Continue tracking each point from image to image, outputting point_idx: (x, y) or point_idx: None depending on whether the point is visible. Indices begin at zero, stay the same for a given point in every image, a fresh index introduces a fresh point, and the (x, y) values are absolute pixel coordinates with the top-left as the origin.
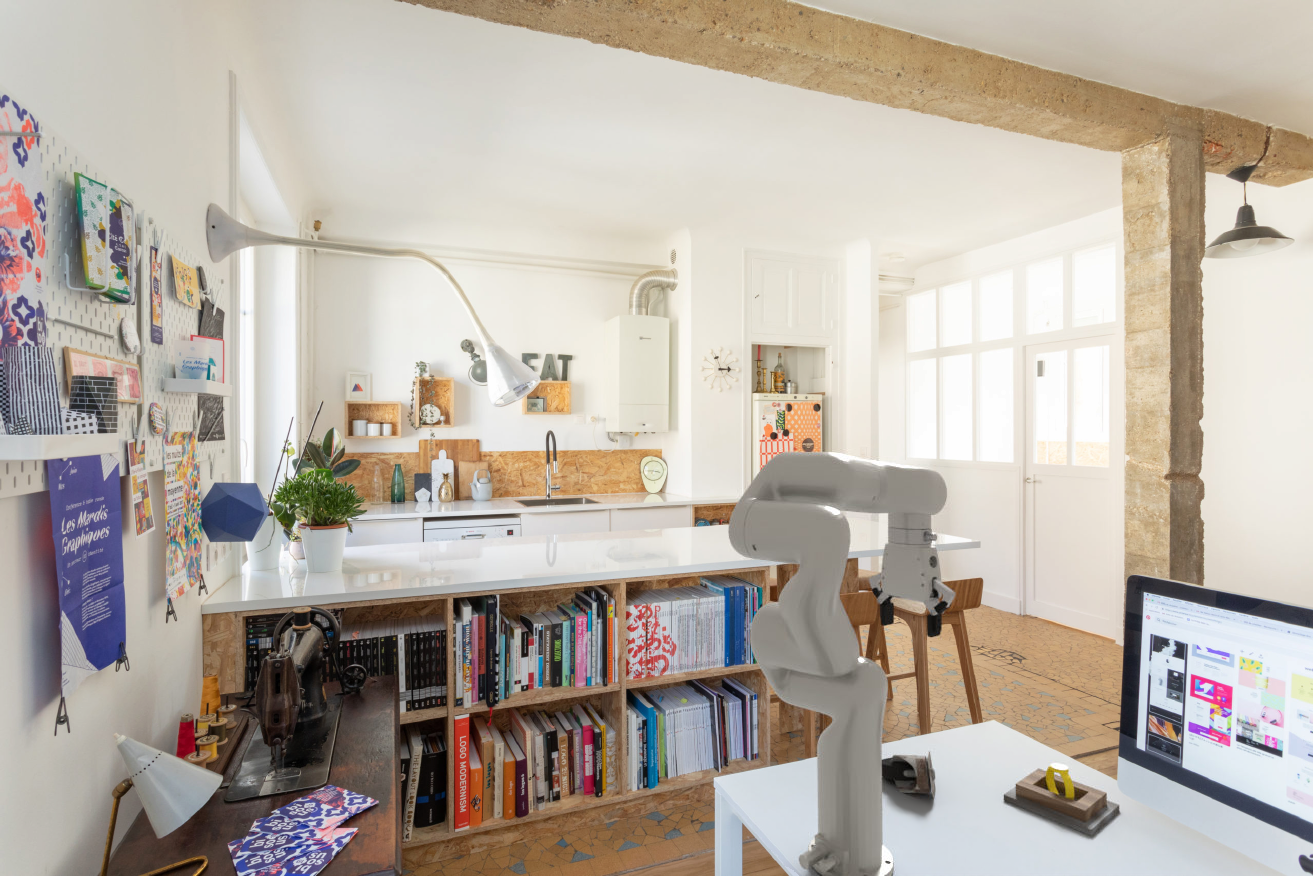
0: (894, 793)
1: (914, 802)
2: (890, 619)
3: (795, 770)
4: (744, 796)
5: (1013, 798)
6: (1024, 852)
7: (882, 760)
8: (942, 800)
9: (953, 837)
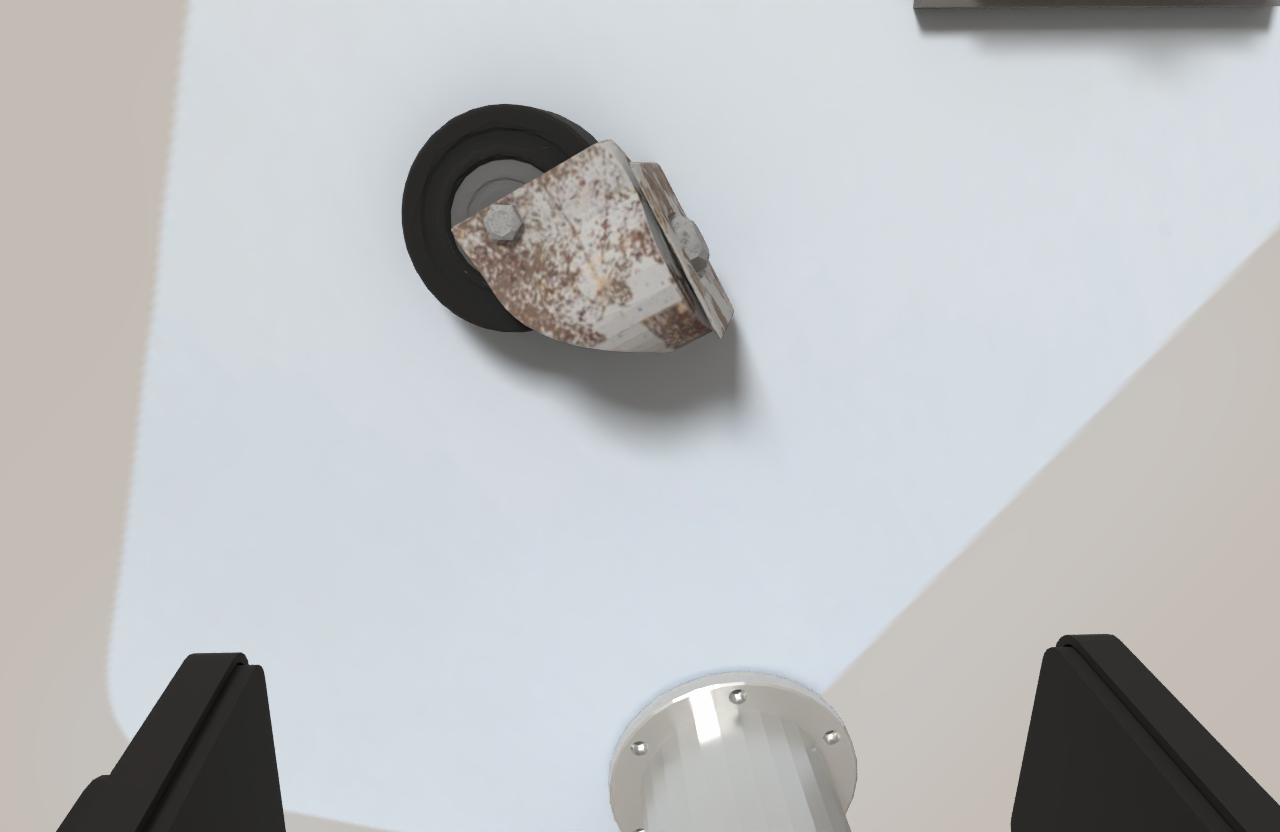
0: None
1: None
2: (245, 785)
3: (185, 516)
4: None
5: (967, 6)
6: (1092, 325)
7: (422, 260)
8: (730, 232)
9: (882, 434)
